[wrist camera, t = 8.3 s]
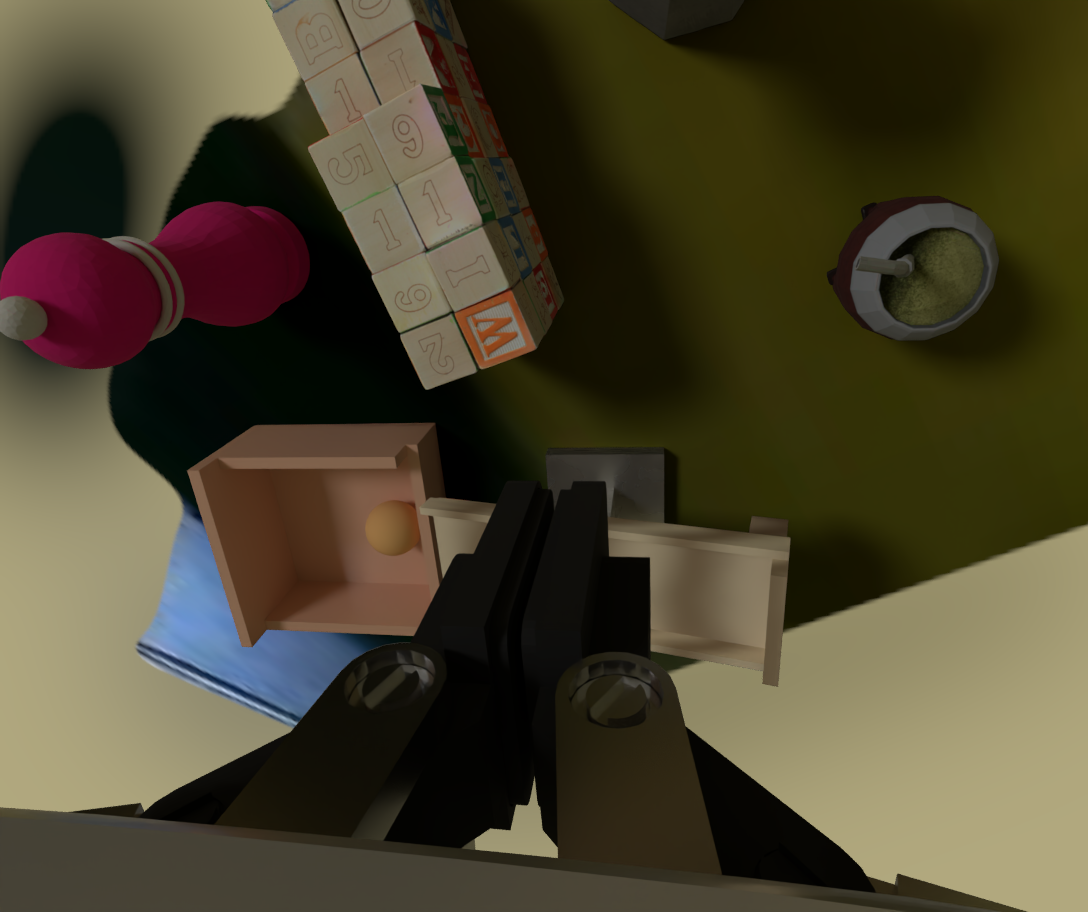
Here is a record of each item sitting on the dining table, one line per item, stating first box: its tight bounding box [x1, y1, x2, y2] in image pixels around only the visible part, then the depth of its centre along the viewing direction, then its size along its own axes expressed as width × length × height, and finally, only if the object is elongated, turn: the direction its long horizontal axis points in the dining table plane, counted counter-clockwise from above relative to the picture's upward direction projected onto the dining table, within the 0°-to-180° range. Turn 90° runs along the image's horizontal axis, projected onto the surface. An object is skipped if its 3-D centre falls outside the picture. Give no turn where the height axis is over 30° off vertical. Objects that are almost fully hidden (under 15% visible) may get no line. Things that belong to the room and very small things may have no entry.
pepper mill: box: [0, 202, 310, 369], centre depth 36 cm, size 7×7×20 cm
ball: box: [365, 500, 420, 556], centre depth 48 cm, size 4×4×4 cm
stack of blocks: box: [266, 0, 564, 390], centre depth 35 cm, size 21×6×12 cm, turn 22°
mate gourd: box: [827, 196, 999, 340], centre depth 32 cm, size 8×8×15 cm
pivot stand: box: [546, 447, 664, 523], centre depth 46 cm, size 8×10×6 cm
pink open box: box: [187, 423, 446, 647], centre depth 48 cm, size 14×14×8 cm
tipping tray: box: [419, 497, 790, 687], centre depth 43 cm, size 22×16×6 cm
